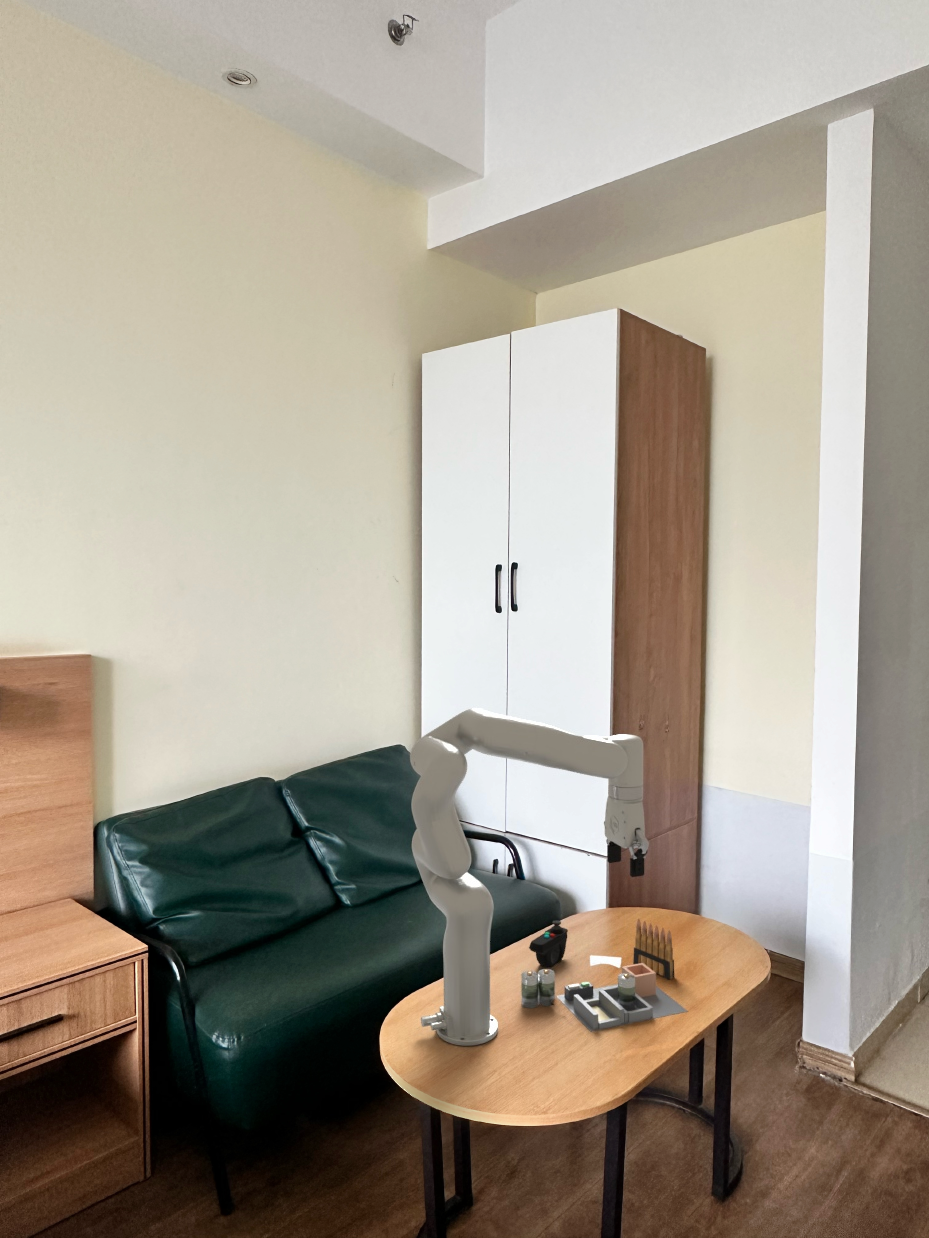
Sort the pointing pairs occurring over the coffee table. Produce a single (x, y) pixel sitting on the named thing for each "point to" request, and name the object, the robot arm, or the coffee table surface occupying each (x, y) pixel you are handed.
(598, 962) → the external hard drive
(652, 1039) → the coffee table surface
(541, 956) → the controller
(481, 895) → the robot arm
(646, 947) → the ammunition clip
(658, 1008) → the board
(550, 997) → the cell
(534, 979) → the cell
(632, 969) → the pink hollow box
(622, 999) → the cell
